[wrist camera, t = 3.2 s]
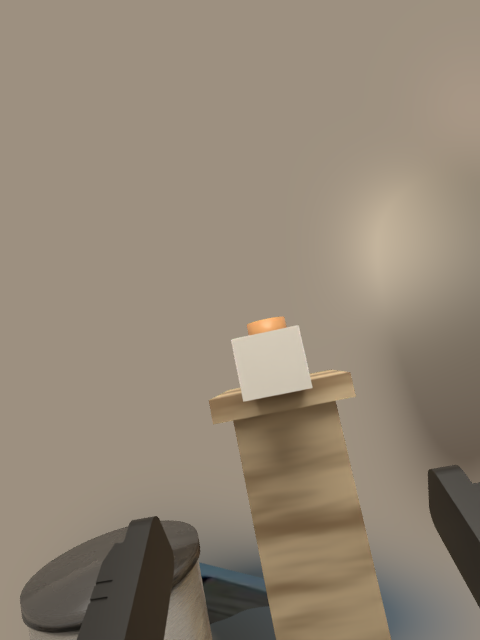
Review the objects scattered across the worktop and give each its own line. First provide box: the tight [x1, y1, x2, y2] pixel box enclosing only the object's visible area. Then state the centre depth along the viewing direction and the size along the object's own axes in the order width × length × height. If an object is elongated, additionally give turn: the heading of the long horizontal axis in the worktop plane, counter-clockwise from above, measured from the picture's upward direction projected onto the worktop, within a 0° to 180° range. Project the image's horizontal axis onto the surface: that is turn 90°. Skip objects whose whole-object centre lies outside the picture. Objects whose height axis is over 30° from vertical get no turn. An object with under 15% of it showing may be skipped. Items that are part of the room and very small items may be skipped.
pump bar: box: [231, 317, 313, 402], centre depth 34 cm, size 20×4×6 cm, turn 174°
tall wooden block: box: [209, 370, 391, 640], centre depth 35 cm, size 12×12×32 cm
